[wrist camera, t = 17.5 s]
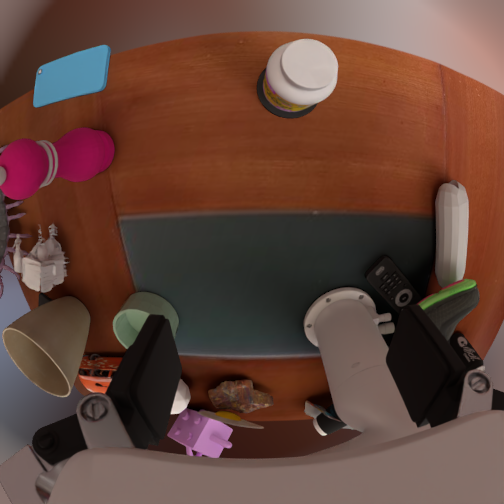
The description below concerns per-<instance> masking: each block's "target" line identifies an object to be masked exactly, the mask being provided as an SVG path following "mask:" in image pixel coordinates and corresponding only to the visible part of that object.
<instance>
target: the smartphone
mask: <svg viewBox="0 0 504 504" xmlns="http://www.w3.org/2000/svg"><path fill="white" fill-rule="evenodd" d="M110 51H111V49H110V47H109V46H107V45H101V46H98V47H94V48H90V49H87V50H84V51H80V52H77V53H74V54H71V55H68V56H65V57H63V58H60V59H57V60H55V61H52V62H50V63H47V64H45V65H42V66H41V67H40V68H39V69H38V71H37V75H36V82H35V90H34V100H33V105H34V107H42V106H45V105H49V104H52V103H55V102H59V101H62V100H66V99H70V98H74V97H78V96H82V95H87V94H91V93H96V92H100V91H102V90H103V89H104V88H105V87H106V82H107V73H108V65H109V58H110Z"/></svg>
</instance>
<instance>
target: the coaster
mask: <svg viewBox="0 0 504 504" xmlns="http://www.w3.org/2000/svg"><path fill="white" fill-rule="evenodd" d="M266 68H267V67H266ZM266 68H265V69H264V70H263V71H262V73H261V74H260V76H259V79H258V82H257V93H258V97H259V99H260V101H261V103H262V104H263V106H264V107H265V108H266V109H267V110H268V111H270V112H271V113H273V114H274V115H277V116H279V117H283V118H298V117H301V116H304V115H306V114H308V113H309V112H311V111H312V110H313V109H314V108H315V107H316V105H317V104H318V103H316V104H314V105H312V106H310V107H308V108H306V109H303V110H300V111H296V112H287V111H283V110H280V109H278V108H276V107H275V106H273V105H272V104H271V103H270V102H269V101H268V100H267V98H266V96H265V94H264V91H263V81H264V77H265V72H266Z"/></svg>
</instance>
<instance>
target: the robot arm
mask: <svg viewBox="0 0 504 504" xmlns="http://www.w3.org/2000/svg"><path fill="white" fill-rule="evenodd" d="M386 321H391V314H390V313H385V314H381V315H378V314H377V313H376V307H375V304H374V302H373V300H372V299H371V297H370V296H369V295H368V294H367V293H366V292H364V291H362V290H360V289H357V288H351V287H346V288H339V289H335V290H332V291H330V292H327V293H326V294H324V295H322V296H321V297H319V298H318V299H317V300H316V301H315V302H314V303H313V304H312V305H311V306H310V308H309V309H308V311H307V313H306V316H305V318H304V330H305V334H306V336H307V338H308V340H309V341H310V342H311V343H312V344H314V345H315V346H317V347H319V350H320V353H321V357H322V361H323V365H324V368H325V372H326V376H327V380H328V384H329V388H330V392H331V396H332V400H333V404H334V408H335V411H336V413H337V415H338V416H339V418H340V419H341V420H342V421H343V422H344V423H345V424H347V425H348V426H350V427H352V428H354V429H356V430H358V431H360V432H362V434H361V435H360V436H357V437H355V438H353V439H351V440H350V441H347V442H345V443H342V444H339V445H337V446H334V447H331V448H328V449H325V450H322V451H319V452H316V453H313V454H310V455H307V456H303V457H291V458H273V459H228V458H212V457H200V456H189V455H180V454H172V453H165V452H158V451H151V450H146V449H147V447H148V444H151V445H157V446H158V444H159V440H160V439H164V436H165V433H166V429H167V425H168V421H169V417H170V414H171V410H172V406H173V402H174V399H175V395H176V392H177V388H178V384H179V381H180V377H181V373H182V367H181V363H180V359H179V356H178V352H177V348H176V345H175V341H174V337H173V333H172V329H171V325H170V321H169V319H165V316H164V315H156V314H150V315H149V316H148V317H147V319H146V321H145V323H144V324H143V326H142V328H141V330H140V332H139V334H138V335H137V337H136V339H135V341H134V343H133V345H130V346H129V348H128V349H127V351H126V353H125V355H124V357H123V359H122V360H121V362H120V364H119V366H118V368H117V370H116V372H115V374H114V376H113V378H112V380H111V382H110V384H109V386H108V388H107V390H106V392H105V394H104V393H101V392H94V393H90V394H88V395H86V396H84V397H83V398H82V399H81V400H80V401H79V403H78V405H77V409H76V410H77V414H74V415H72V416H70V417H67V418H65V419H62V420H60V421H57V422H55V423H52V424H50V425H47V426H45V427H42V428H40V429H39V430H38V431H37V432H36V433H35V435H34V436H33V440H32V444H33V445H32V446H29V445H28V444H27V445H26V446H25V447H24V448H22V449H21V450H20V451H18V452H17V453H16V454H14V455H13V456H12V457H10V458H9V459H8V460H6V461H5V462H4V463H2V465H0V483H1V485H2V487H3V489H4V491H5V492H6V494H7V496H8V498H9V499H10V501H11V503H12V504H504V392H501V391H498V390H495V389H493V382H492V380H491V378H490V376H489V375H488V374H487V373H485V372H484V371H482V370H478V369H474V370H470V371H468V373H467V374H466V373H465V369H466V366H465V365H464V363H463V362H462V360H461V359H460V358H459V356H458V355H457V353H456V352H455V351H454V349H453V348H452V346H451V345H450V344H449V342H448V341H447V340H446V338H445V337H444V336H443V334H442V333H441V332H440V330H439V329H438V328H437V327H436V325H435V324H434V323H433V321H432V320H431V319H430V318H429V316H428V315H427V314H426V313H425V311H424V310H423V309H422V308H421V307H420V305H418V304H415V305H407V306H405V307H404V309H403V310H402V311H401V312H400V316H399V319H398V322H397V326H396V329H395V326H394V323H393V322H390V323H384V324H381V325H378V324H379V322H386ZM394 330H395V332H394ZM393 332H394V335H393V338H392V341H391V344H390V347H389V348H388V346H387V345H386V343H385V341H384V339H383V337H382V335H381V334H389V333H393Z"/></svg>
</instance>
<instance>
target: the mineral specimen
mask: <svg viewBox="0 0 504 504" xmlns="http://www.w3.org/2000/svg"><path fill="white" fill-rule="evenodd" d="M208 394H209V398H210V400H211V401H212V403H213V405H214V406H215V407H216V408H217V409H230V410H231V409H233V410H236V411H239V412H240V413H249V412H252V411H254V410H256V409H259V408H264V407H268V406H272V405H273V397H272V396H270V395H269V394H267V393H263V392H259V391H258V390H253V384H252V381H251V380H236V381H233V382H232V381H225V382H222V383H221V384H220V386H217V388H216V389H211V390H209V391H208Z"/></svg>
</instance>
